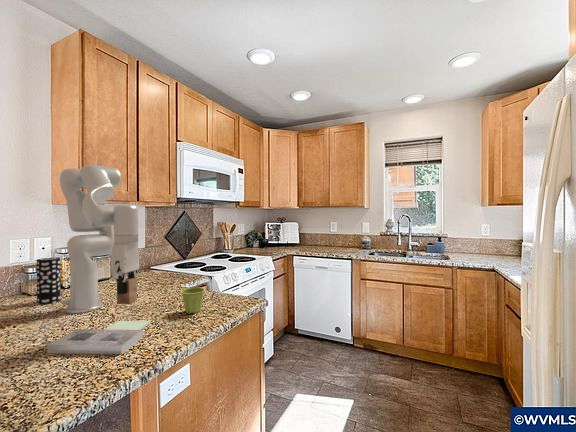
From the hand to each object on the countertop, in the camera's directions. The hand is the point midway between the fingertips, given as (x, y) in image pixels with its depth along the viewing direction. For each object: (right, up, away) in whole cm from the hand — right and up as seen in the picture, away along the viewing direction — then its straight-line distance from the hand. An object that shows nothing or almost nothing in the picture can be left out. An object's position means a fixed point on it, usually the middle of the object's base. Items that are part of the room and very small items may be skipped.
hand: (126, 291), depth 100 cm
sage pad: (0, -13, 0) cm, 13 cm away
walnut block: (0, -4, 0) cm, 4 cm away
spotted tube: (-54, -14, +31) cm, 64 cm away
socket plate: (-2, -13, -13) cm, 18 cm away
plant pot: (+18, -13, +18) cm, 28 cm away
